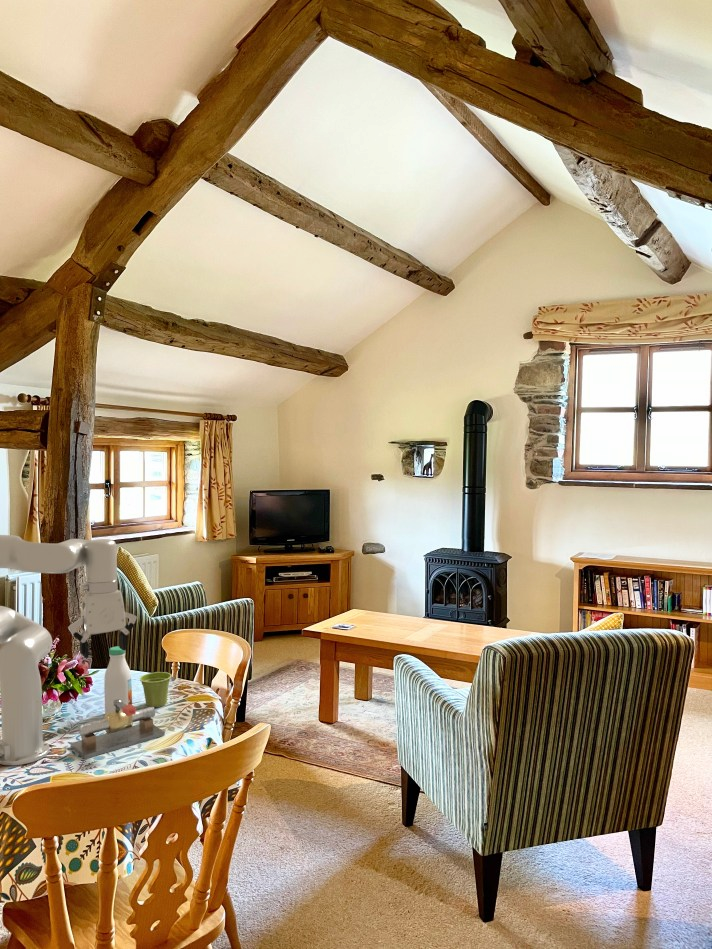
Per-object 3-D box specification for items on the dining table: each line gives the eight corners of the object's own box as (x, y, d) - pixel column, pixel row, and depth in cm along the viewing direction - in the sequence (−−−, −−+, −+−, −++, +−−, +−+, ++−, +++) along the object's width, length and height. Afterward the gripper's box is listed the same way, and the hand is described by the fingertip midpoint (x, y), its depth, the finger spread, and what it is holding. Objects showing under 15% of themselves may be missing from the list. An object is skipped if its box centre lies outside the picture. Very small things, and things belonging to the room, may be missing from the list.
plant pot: (155, 712, 211) (154, 683, 211) (134, 706, 216) (133, 678, 216) (178, 702, 219) (177, 674, 219) (157, 697, 224) (156, 670, 224)
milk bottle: (123, 720, 205) (122, 652, 205) (99, 718, 207) (98, 650, 206) (137, 710, 213) (135, 644, 212) (113, 708, 215) (112, 643, 214)
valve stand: (84, 759, 179) (83, 721, 179) (70, 746, 187) (69, 710, 187) (164, 735, 194) (163, 700, 194) (148, 724, 201) (148, 691, 201)
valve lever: (112, 705, 190) (111, 699, 190) (120, 703, 192) (119, 697, 192) (127, 716, 183) (127, 709, 183) (135, 714, 184) (135, 707, 184)
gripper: (71, 594, 174) (74, 663, 174) (140, 584, 184) (142, 649, 185) (63, 590, 180) (65, 656, 180) (129, 581, 190) (131, 643, 191)
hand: (104, 652), depth 183 cm, fingers open, 9 cm apart
